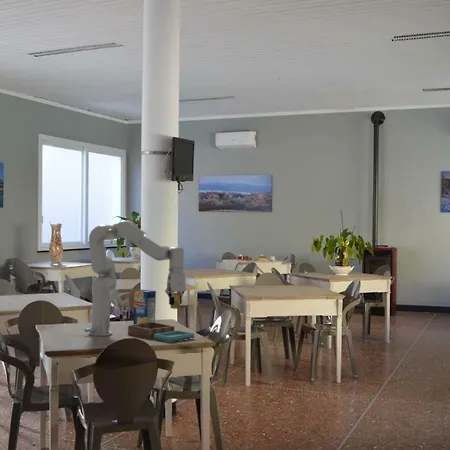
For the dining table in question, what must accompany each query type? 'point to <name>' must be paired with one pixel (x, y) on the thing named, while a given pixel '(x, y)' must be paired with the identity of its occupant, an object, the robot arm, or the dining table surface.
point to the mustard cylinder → (176, 301)
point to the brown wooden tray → (148, 329)
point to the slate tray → (173, 336)
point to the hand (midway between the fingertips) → (175, 303)
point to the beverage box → (144, 306)
